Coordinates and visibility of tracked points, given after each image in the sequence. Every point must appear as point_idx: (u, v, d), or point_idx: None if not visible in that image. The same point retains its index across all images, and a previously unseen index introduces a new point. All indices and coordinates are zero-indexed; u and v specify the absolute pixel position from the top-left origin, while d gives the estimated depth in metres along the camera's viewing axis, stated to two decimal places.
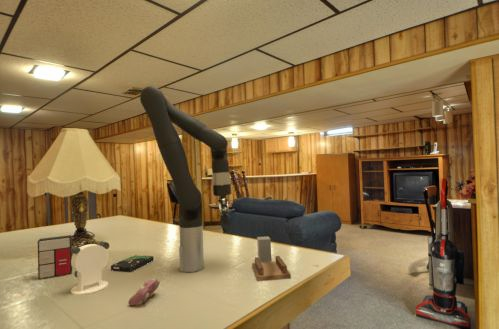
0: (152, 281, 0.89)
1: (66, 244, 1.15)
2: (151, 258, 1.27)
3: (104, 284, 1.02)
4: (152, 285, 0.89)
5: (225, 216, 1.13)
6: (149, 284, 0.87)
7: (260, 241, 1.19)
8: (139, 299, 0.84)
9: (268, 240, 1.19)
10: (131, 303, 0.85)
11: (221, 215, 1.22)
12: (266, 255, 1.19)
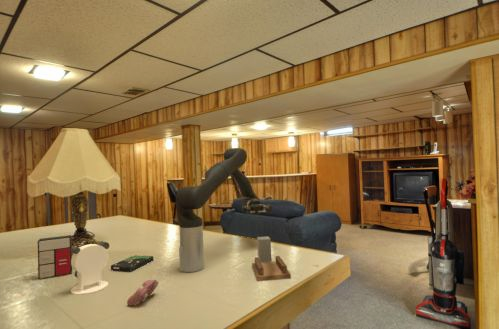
0: (151, 281, 0.89)
1: (66, 244, 1.15)
2: (151, 258, 1.27)
3: (104, 284, 1.02)
4: (151, 285, 0.89)
5: None
6: (148, 284, 0.87)
7: (260, 241, 1.19)
8: (138, 299, 0.84)
9: (268, 240, 1.19)
10: (130, 303, 0.85)
11: (249, 208, 1.36)
12: (266, 255, 1.19)
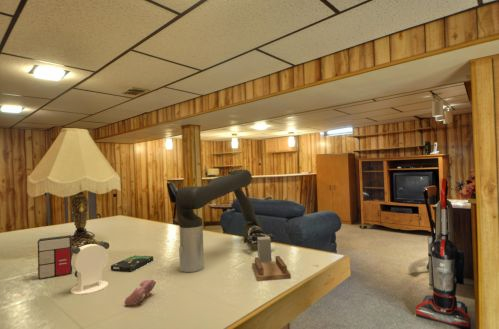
0: (148, 281, 0.89)
1: (66, 244, 1.15)
2: (151, 258, 1.27)
3: (104, 284, 1.02)
4: (148, 285, 0.89)
5: None
6: (145, 284, 0.87)
7: (260, 241, 1.19)
8: (135, 299, 0.84)
9: (268, 240, 1.19)
10: (127, 303, 0.85)
11: (251, 239, 1.33)
12: (266, 255, 1.19)
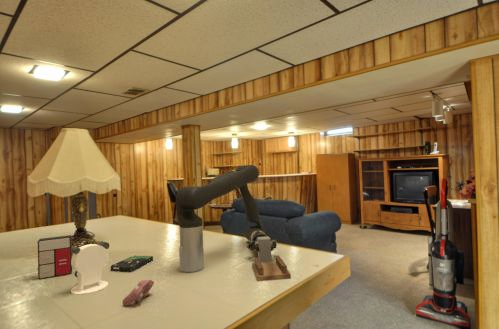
0: (146, 281, 0.89)
1: (66, 244, 1.15)
2: (151, 258, 1.27)
3: (104, 284, 1.02)
4: (146, 285, 0.89)
5: None
6: (143, 284, 0.87)
7: (260, 241, 1.19)
8: (133, 299, 0.84)
9: (268, 240, 1.19)
10: (125, 303, 0.85)
11: None
12: (266, 255, 1.19)
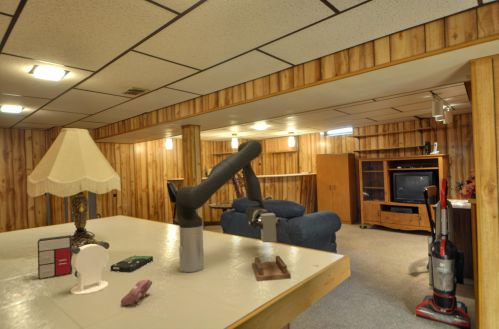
0: (144, 281, 0.89)
1: (66, 244, 1.15)
2: (151, 258, 1.27)
3: (104, 284, 1.02)
4: (144, 285, 0.89)
5: None
6: (141, 284, 0.87)
7: (264, 217, 1.07)
8: (131, 299, 0.84)
9: (273, 216, 1.07)
10: (123, 303, 0.85)
11: (261, 222, 1.09)
12: (270, 232, 1.07)
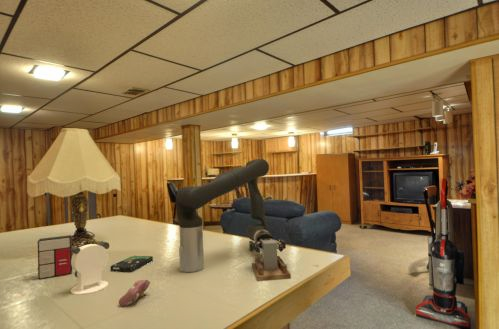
0: (142, 281, 0.89)
1: (66, 244, 1.15)
2: (150, 258, 1.27)
3: (104, 284, 1.02)
4: (142, 285, 0.89)
5: None
6: (139, 284, 0.88)
7: (265, 245, 1.06)
8: (129, 299, 0.84)
9: (274, 244, 1.06)
10: (121, 303, 0.85)
11: (258, 246, 1.09)
12: (272, 261, 1.06)
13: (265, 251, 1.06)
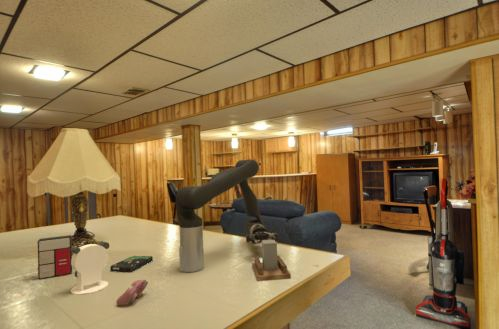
0: (140, 281, 0.90)
1: (66, 244, 1.15)
2: (150, 258, 1.27)
3: (104, 284, 1.02)
4: (140, 285, 0.89)
5: None
6: (137, 284, 0.88)
7: (265, 245, 1.06)
8: (127, 299, 0.85)
9: (274, 244, 1.06)
10: (119, 303, 0.85)
11: (254, 238, 1.23)
12: (272, 261, 1.06)
13: (265, 251, 1.06)
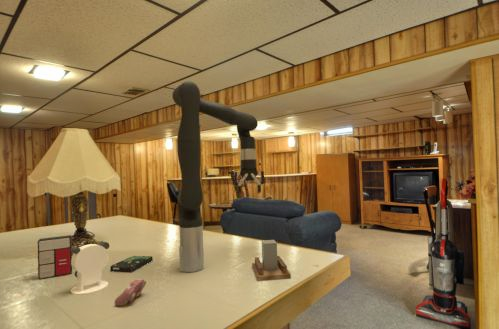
0: (138, 281, 0.90)
1: (66, 244, 1.15)
2: (150, 258, 1.27)
3: (104, 284, 1.02)
4: (138, 285, 0.89)
5: None
6: (135, 284, 0.88)
7: (265, 245, 1.06)
8: (125, 299, 0.85)
9: (274, 244, 1.06)
10: (117, 303, 0.85)
11: None
12: (272, 261, 1.06)
13: (265, 251, 1.06)
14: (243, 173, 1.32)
